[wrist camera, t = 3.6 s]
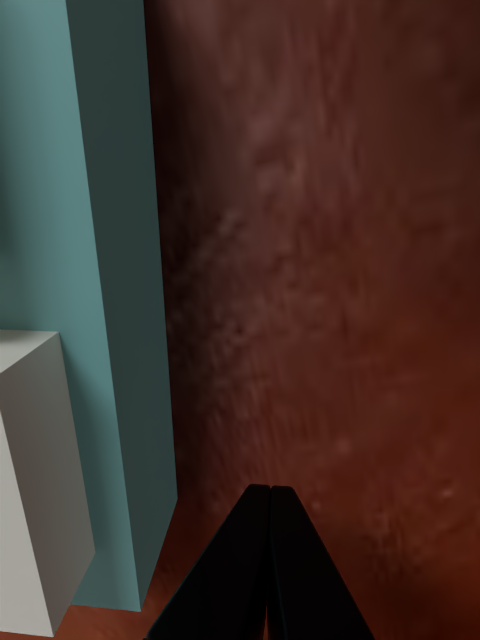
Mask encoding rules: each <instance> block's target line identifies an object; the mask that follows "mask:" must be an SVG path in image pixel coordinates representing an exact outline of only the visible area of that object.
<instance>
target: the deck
mask: <svg viewBox="0 0 480 640" xmlns="http://www.w3.org/2000/svg"><path fill="white" fill-rule="evenodd" d="M0 329H1V330H28V331H54V332H59V336H60V342H61V348H62V354H63V360H64V366H65V372H66V378H67V384H68V390H69V396H70V402H71V408H72V414H73V420H74V426H75V432H76V438H77V444H78V450H79V456H80V462H81V468H82V474H83V480H84V486H85V492H86V498H87V504H88V510H89V516H90V522H91V528H92V534H93V540H94V546H95V552H96V553H95V555H94V557H93V559H92V561H91V563H90V565H89V567H88V569H87V571H86V573H85V575H84V577H83V579H82V581H81V583H80V585H79V587H78V589H77V591H76V593H75V595H74V597H73V599H72V601H71V603H70V604H73V605H83V606H92V607H102V608H111V609H120V610H130V611H139V612H141V609H142V606H143V603H144V600H145V597H146V594H147V591H148V588H149V585H150V582H151V579H152V576H153V573H154V570H155V567H156V564H157V561H158V557H159V554H160V551H161V548H162V545H163V542H164V539H165V536H166V533H167V530H168V527H169V524H170V521H171V518H172V515H173V512H174V509H175V506H176V502H177V499H178V497H177V483H176V468H175V454H174V439H173V425H172V411H171V396H170V382H169V367H168V353H167V338H166V324H165V309H164V295H163V280H162V266H161V251H160V237H159V222H158V208H157V193H156V179H155V164H154V150H153V136H152V121H151V107H150V92H149V78H148V63H147V49H146V34H145V20H144V5H143V0H0Z"/></svg>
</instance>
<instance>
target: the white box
mask: <svg viewBox="0 0 480 640" xmlns="http://www.w3.org/2000/svg"><path fill="white" fill-rule="evenodd" d="M95 553H96V552H95V546H94V540H93V534H92V528H91V522H90V516H89V510H88V504H87V498H86V492H85V486H84V480H83V474H82V468H81V462H80V456H79V450H78V444H77V438H76V432H75V426H74V420H73V414H72V408H71V402H70V396H69V390H68V384H67V378H66V372H65V366H64V360H63V354H62V348H61V342H60V336H59V332H54V331H28V330H1V329H0V631H4V632H13V633H22V634H30V635H39V636H48V637H54V635H55V633H56V631H57V629H58V627H59V625H60V623H61V621H62V619H63V617H64V615H65V613H66V611H67V609H68V607H69V605H70V603H71V601H72V599H73V597H74V595H75V593H76V591H77V589H78V587H79V585H80V583H81V581H82V579H83V577H84V575H85V573H86V571H87V569H88V567H89V565H90V563H91V561H92V559H93V557H94V555H95Z"/></svg>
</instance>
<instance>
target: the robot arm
mask: <svg viewBox="0 0 480 640" xmlns="http://www.w3.org/2000/svg"><path fill="white" fill-rule="evenodd" d="M267 585H268V588H267ZM266 607H267V628H268V640H375V638H374V636H373V634H372V632H371V631H370V629H369V627H368V625H367V623H366V621H365V619H364V618H363V616H362V614H361V612H360V610H359V608H358V607H357V605H356V603H355V601H354V599H353V597H352V595H351V594H350V592H349V590H348V588H347V586H346V584H345V583H344V581H343V579H342V577H341V575H340V573H339V571H338V570H337V568H336V566H335V564H334V562H333V560H332V559H331V557H330V555H329V553H328V551H327V549H326V547H325V546H324V544H323V542H322V540H321V538H320V536H319V535H318V533H317V531H316V529H315V527H314V525H313V523H312V522H311V520H310V518H309V516H308V514H307V512H306V511H305V509H304V507H303V505H302V503H301V501H300V499H299V498H298V496H297V494H296V492H295V490H294V489H293V488H292V487H290V486H276V485H275V486H272V488H270V486H269V485H262V484H250V485H249V486H248V487H247V488H246V490H245V491H244V493H243V494H242V495H241V497H240V498H239V500H238V501H237V503H236V504H235V506H234V507H233V509H232V510H231V511H230V513H229V514H228V516H227V517H226V519H225V520H224V522H223V523H222V525H221V526H220V527H219V529H218V530H217V532H216V533H215V535H214V536H213V538H212V539H211V541H210V542H209V543H208V545H207V546H206V548H205V549H204V551H203V552H202V554H201V555H200V557H199V558H198V559H197V561H196V562H195V564H194V565H193V567H192V568H191V570H190V571H189V573H188V574H187V575H186V577H185V578H184V580H183V581H182V583H181V584H180V586H179V587H178V589H177V590H176V592H175V593H174V594H173V596H172V597H171V599H170V600H169V602H168V603H167V605H166V606H165V608H164V609H163V610H162V612H161V613H160V615H159V616H158V618H157V619H156V621H155V622H154V624H153V625H152V626H151V628H150V629H149V631H148V632H147V634H146V637H147V639H146V638H143V639H142V640H263V635H264V627H265V619H266Z"/></svg>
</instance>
